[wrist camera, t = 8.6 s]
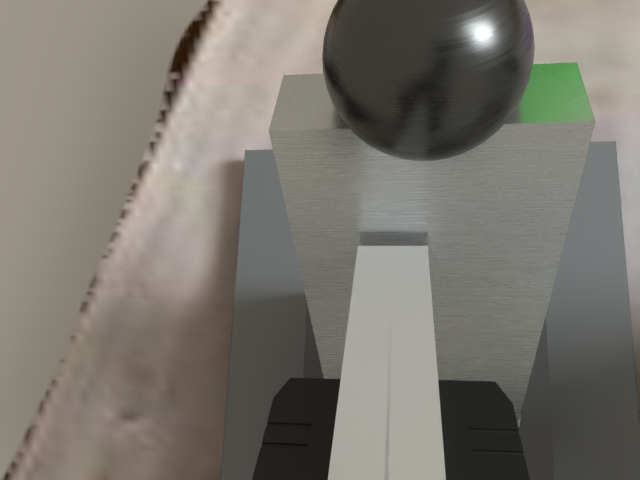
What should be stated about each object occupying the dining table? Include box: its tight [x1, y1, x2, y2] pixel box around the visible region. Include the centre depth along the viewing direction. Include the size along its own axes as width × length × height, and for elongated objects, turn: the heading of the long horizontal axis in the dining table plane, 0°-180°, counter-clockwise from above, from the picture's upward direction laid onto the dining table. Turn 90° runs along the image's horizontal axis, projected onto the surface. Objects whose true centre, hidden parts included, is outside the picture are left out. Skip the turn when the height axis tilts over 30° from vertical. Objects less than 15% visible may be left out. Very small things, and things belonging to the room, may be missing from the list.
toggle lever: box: [269, 0, 595, 424], centre depth 14 cm, size 4×6×14 cm, turn 87°
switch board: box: [221, 141, 640, 480], centre depth 22 cm, size 22×16×6 cm
